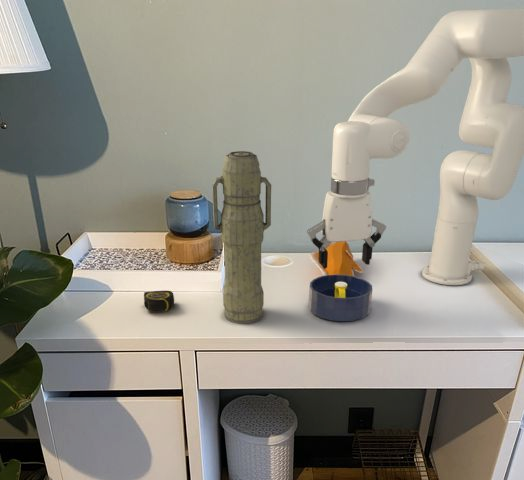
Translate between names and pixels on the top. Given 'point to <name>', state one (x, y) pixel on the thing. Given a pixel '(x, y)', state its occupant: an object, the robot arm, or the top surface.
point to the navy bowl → (340, 308)
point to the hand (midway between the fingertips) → (344, 264)
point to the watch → (340, 289)
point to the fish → (337, 260)
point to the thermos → (242, 234)
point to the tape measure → (159, 301)
